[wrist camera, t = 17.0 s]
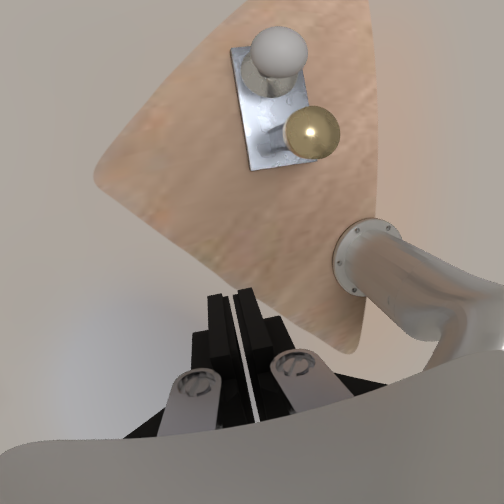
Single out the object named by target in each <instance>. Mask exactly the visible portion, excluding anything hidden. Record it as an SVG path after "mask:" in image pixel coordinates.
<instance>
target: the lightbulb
mask: <svg viewBox="0 0 504 504" xmlns="http://www.w3.org/2000/svg"><path fill="white" fill-rule="evenodd" d="M250 55H251V59H252V62H253V64H254V65H255V67H256V68H257V69H258V73H259V74H260V75H261V76H263V77H265V78H270V77H272V78H288V77H291V76H294V75H295V74H297V73H298V72H299V71H300V70H301V69H302V68H303V67H304V65H305V64H306V61H307V58H308V49H307V45H306V43H305V41H304V39H303V38H302V37H301V35H299V34H298V33H297V32H296V31H294V30H292V29H290V28H287V27H282V26H276V27H270V28H267V29H265V30H263V31H261V32H260V33H259V34H258V35H257V36H256V37H255V38H254V40H253V42H252V44H251V49H250Z"/></svg>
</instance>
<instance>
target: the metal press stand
mask: <svg viewBox="0 0 504 504" xmlns="http://www.w3.org/2000/svg"><path fill="white" fill-rule="evenodd" d="M250 49H251V46H247V47H238V48H231V50H230V55H231V61H232V66H233V72H234V78H235V84H236V90H237V96H238V102H239V107H240V113H241V119H242V125H243V131H244V137H245V143H246V150H247V156H248V162H249V168H250V171H253V170H259V169H266V168H272V167H279V166H286V165H293V164H300V163H307V162H315V161H317V159H304V158H300V157H298V156H296V155H294V154H293V153H292V152H291V151H290V150H289V149H288V148H287V146H286V144H285V142H284V139H283V126H284V123H285V121H286V119H287V118H288V117H289V116H290V115H291V114H292V113H293V112H295V111H297V110H299V109H301V108H304V107H307V106H309V103H308V98H307V92H306V86H305V81H304V76H303V70H302V69H301V70H300V71H299V72H298V73H297V74H295V75H294V76H291V77H288V78H272V77H270V78H265V77H263V76H261V75H260V74H259V73H258V69H257V68H256V67H255V65H254V64H253V62H252V59H251V55H250Z"/></svg>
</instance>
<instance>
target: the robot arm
mask: <svg viewBox="0 0 504 504" xmlns="http://www.w3.org/2000/svg"><path fill="white" fill-rule="evenodd" d="M355 229H356V230H355ZM338 261H339V262H338ZM337 262H338V263H337ZM333 271H334V275H335V277H336V280H337V281H338V283H339V284H340V286H341V287H342V288H343V289H344V290H346V291H347V292H348V293H350V294H352V295H355V296H360V297H366V296H367V297H368V298H369V299H370V300H371V301H372V302H373V303H374V304H376V305H377V306H378V307H379V308H380V309H381V310H382V311H383V312H384V313H385V314H386V315H387V316H388V317H389V318H390V319H392V320H393V321H394V322H395V323H396V324H397V325H398V326H399V327H400V328H401V329H402V330H403V331H404V332H406V334H408V335H409V336H411V337H412V338H414V339H417V340H421V341H439V342H438V344H437V346H436V348H435V350H434V352H433V355H432V356H431V358H430V360H429V361H428V363H427V365H426V366H425V368H424V369H423V371H422V372H420V373H418V374H415V375H413V376H410V377H408V378H405V379H403V380H400V381H397V382H395V383H392V384H390V385H387V384H382V383H377V382H372V381H368V380H363V379H358V378H354V377H350V376H346V375H341V374H337V373H333V372H332V371H331V369H330V368H329V367H328V366H327V365H326V364H325V363H324V361H323V360H322V359H321V358H320V357H319V356H318V355H317V354H316V353H314V352H312V351H310V350H306V349H295V347H294V344H293V342H292V340H291V338H290V336H289V334H288V332H287V329H286V327H285V325H284V323H283V321H282V319H281V317H280V316H275V317H270V318H265V319H263V318H262V315H261V312H260V309H259V307H258V304H257V301H256V298H255V295H254V292H253V290H252V287H251V288H246V289H241V290H238V294H235V295H233V299H234V304H235V309H236V314H237V319H238V323H239V328H240V333H241V338H242V342H243V347H244V352H245V356H246V361H247V365H248V370H249V374H250V378H251V383H252V388H253V392H254V397H255V401H256V406H257V409H258V414H259V418H260V422H257V423H255V420H254V416H253V411H252V406H251V401H250V397H249V392H248V387H247V382H246V377H245V373H244V367H243V362H242V358H241V353H240V349H239V344H238V340H237V335H236V330H235V326H234V322H233V317H232V312H231V308H230V303H229V298H228V296H225V297H223V296H222V294H216V295H211V296H208V297H207V298H208V328H209V330H205V331H200V332H194V333H193V335H192V357H191V370H190V371H187V372H185V373H183V374H181V375H180V376H179V377H178V378H177V379H176V380H175V381H174V383H173V385H172V388H171V392H170V394H169V398H168V401H167V404H166V407H165V408H164V409H162V410H161V411H160V412H158V413H157V414H156V415H154V416H153V417H152V418H150V419H149V420H148V421H147V422H145V423H144V424H142V425H141V426H140V427H138V428H137V429H135V430H134V431H133V432H131V433H130V434H129V435H127V436H126V437H124V438H123V439H105V440H49V441H39V442H32V443H27V444H24V445H20V446H16V447H14V448H12V449H9V450H7V451H5V452H4V453H2V454H1V455H0V504H504V285H501V284H498V283H495V282H491V281H488V280H485V279H482V278H479V277H477V276H474V275H471V274H469V273H467V272H465V271H463V270H461V269H459V268H457V267H455V266H453V265H451V264H449V263H447V262H445V261H443V260H441V259H439V258H437V257H435V256H433V255H431V254H429V253H427V252H425V251H423V250H422V249H419V248H417V247H415V246H413V245H411V244H409V243H407V242H405V241H403V240H402V237H401V235H400V234H399V232H398V230H397V229H396V228H395V227H394V226H393V225H392V224H390V223H388V222H386V221H384V220H381V219H378V218H369V219H364V220H361V221H358V222H356V223H355V224H353V225H352V226H350V227H349V228H348V229H347V230H346V231H345V232H344V234H343V235H342V236H341V237H340V239H339V241H338V243H337V245H336V248H335V251H334V255H333Z"/></svg>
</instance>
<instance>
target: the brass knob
mask: <svg viewBox="0 0 504 504" xmlns="http://www.w3.org/2000/svg"><path fill="white" fill-rule="evenodd" d="M283 139H284V142H285V144H286V146H287V148H288V149H289V150H290V151H291V152H292V153H293V154H294V155H296V156H298V157H300V158H304V159H322V158H325V157H327V156H329V155H330V154H332V153H333V152H334V150H335V149H336V147H337V146H338V143H339V140H340V129H339V125H338V122H337V120H336V119H335V117H334V116H333V115H332V114H331V113H330V112H329V111H327V110H326V109H324V108H322V107H318V106H307V107H304V108H301V109H299V110H297V111H295V112H293V113H292V114H291V115H290V116H289V117H288V118H287V119H286V121H285V123H284V126H283Z"/></svg>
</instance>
